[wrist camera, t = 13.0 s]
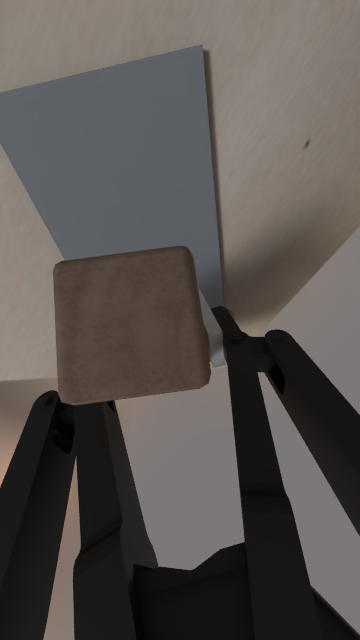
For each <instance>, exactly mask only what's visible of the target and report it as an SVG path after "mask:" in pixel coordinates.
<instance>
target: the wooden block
mask: <svg viewBox="0 0 360 640" xmlns="http://www.w3.org/2000/svg"><path fill="white" fill-rule="evenodd" d="M53 278H54V302H55V325H56V349H57V372H58V395H59V397H60V399H61V402H62V403H67V404H71V405H74V406H75V405H82V404H89V403H97V402H104V401H111V400H119V399H126V398H134V397H141V396H148V395H156V394H163V393H170V392H178V391H184V390H192V389H199V388H201V387H203V386H204V385H206V384H208V383H209V379H210V375H211V369H210V363H209V362H210V361H211V360H210V357H209V355H208V350H207V343H206V336H205V330H204V323H203V317H202V310H201V303H200V297H199V290H198V284H197V277H196V271H195V264H194V257H193V255H192V254H191V252H190V250H189V249H188V247H185V246H172V247H165V248H157V249H149V250H142V251H134V252H127V253H119V254H112V255H104V256H96V257H89V258H81V259H74V260H66V261H61V262H59V263H57V264H55V267H54V270H53ZM228 311H229V313H230V315H231V316H232V318H233V319H234V315H233V312H232V311H230V310H228Z"/></svg>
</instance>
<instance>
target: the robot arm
mask: <svg viewBox="0 0 360 640" xmlns="http://www.w3.org/2000/svg"><path fill="white" fill-rule="evenodd" d="M198 290H199V297H200V303H201V310H202V317H203V323H204V330H205V336H206V343H207V350H208V355H209V357H210V360H211V362H212V365H213V368H214V367H218V366H222V365H225V360H226V362H227V365H228V376H229V385H230V396H231V406H232V415H233V426H234V436H235V446H236V457H237V467H238V477H239V487H240V497H241V507H242V518H243V527H244V538H245V542H243V543H240V544H237V545H233V546H230V547H227V548H223V549H220V550H219V551H217V552H216V553H215V554H213V555H212V556H211V557H210V558H208V559H207V560H206V561H204V562H203V563H202V564H200V565H199V566H198V567H197V568H195V569H193V570H183V569H175V568H167V567H158V563H157V559H156V555H155V552H154V549H153V546H152V544H151V543H150V540H149V538H148V535H147V532H146V528H145V524H144V520H143V516H142V512H141V508H140V503H139V499H138V495H137V491H136V487H135V483H134V479H133V475H132V471H131V467H130V462H129V458H128V454H127V450H126V446H125V442H124V438H123V434H122V430H121V425H120V422H119V418H118V413H117V409H116V405H115V401H114V400H111V401H104V402H97V403H89V404H82V405H75V406H74V405H71V404H67V403H62V402H61V399H60V397H59V395H58V392H57V391H54V390H53V391H48V392H45V393H44V394H42V395H41V396H40V397H39V398H38V399H37V400H36V401H35V402H34V404H33V407H32V409H31V411H30V414H29V416H28V419H27V421H26V424H25V426H24V429H23V431H22V434H21V436H20V439H19V442H18V444H17V447H16V449H15V452H14V454H13V457H12V459H11V462H10V464H9V467H8V469H7V472H6V475H5V477H4V479H3V482H2V484H1V488H0V640H43V638H44V633H45V628H46V623H47V618H48V612H49V606H50V600H51V595H52V589H53V583H54V578H55V572H56V567H57V561H58V555H59V549H60V543H61V538H62V532H63V526H64V521H65V515H66V510H67V504H68V498H69V492H70V487H71V481H72V475H73V470H74V464H75V458H76V457H77V478H78V496H79V514H80V533H81V534H80V535H81V549H80V553H79V555H78V557H77V558H76V560H75V564H74V568H73V569H74V570H73V596H74V597H73V599H74V634H75V640H360V635H359V634H358V633H357V632H356V631H355V630H354V629H353V628H352V627H351V626H350V625H349V624H348V623H347V622H346V621H345V619H344V618H342V616H341V615H339V613H338V612H336V610H335V609H334V608H333V607H332V606H331V605H330V604H329V603H328V602H327V601H326V600H325V599H324V598H323V597H322V596H321V595H320V594H319V593H318V592H317V591H316V590H315V589H314V588H313V587H312V586H311V585H310V581H309V577H308V573H307V569H306V564H305V560H304V556H303V552H302V548H301V544H300V539H299V535H298V531H297V527H296V523H295V518H294V515H293V511H292V507H291V504H290V501H289V498H288V496H287V494H286V492H285V489H284V486H283V482H282V477H281V473H280V469H279V465H278V460H277V456H276V451H275V447H274V443H273V438H272V434H271V429H270V425H269V421H268V416H267V412H266V408H265V404H264V399H263V394H262V390H261V386H260V382H259V377H258V373H257V372H264V373H265V375H266V376H267V378H268V380H269V381H270V383H271V385H272V387H273V388H274V390H275V392H276V394H277V395H278V397H279V399H280V400H281V402H282V404H283V405H284V407H285V409H286V411H287V412H288V414H289V416H290V417H291V419H292V421H293V422H294V424H295V426H296V428H297V430H298V431H299V433H300V434H301V436H302V438H303V440H304V441H305V443H306V445H307V447H308V448H309V450H310V452H311V453H312V455H313V457H314V459H315V460H316V462H317V464H318V465H319V467H320V469H321V471H322V472H323V474H324V476H325V478H326V479H327V481H328V483H329V484H330V486H331V488H332V490H333V491H334V493H335V495H336V496H337V498H338V499H339V502H340V503H341V505H342V507H343V508H344V510H345V512H346V514H347V515H348V517H349V519H350V520H351V522H352V524H353V526H354V527H355V529H356V531H357V532H358V534H359V536H360V415H359V414H358V413H357V411H356V410H355V409H354V408H353V407H352V406H351V405H350V403H349V402H348V401H347V400H346V399H345V398H344V396H343V395H342V394H341V393H340V392H339V391H338V389H337V388H336V387H335V386H334V385H333V384H332V383H331V381H330V380H329V379H328V378H327V377H326V376H325V374H324V373H323V372H322V371H321V370H320V369H319V368H318V366H317V365H316V364H315V363H314V362H313V361H312V359H310V357H309V356H308V355H307V354H306V353H305V351H304V350H303V349H302V348H301V347H300V346H299V344H298V343H297V342H296V341H295V340H294V339H293V338H292V336H291V335H290V334H288V333H287V332H285V331H283V330H271V331H268V332H267V333H266V334H265V337H251V336H248V335H247V334H246V333H245V332H242V331H241V330H240V328H239V327H238V325H237V324H236V322H235V321H234V319H233V318H232V316H231V315H230V313H229V311H228V310H227V309H226V308H225V307H223V306H218V307H214V308H210V307H209V306H208V304H207V302H206V300H205V298H204V296H203V294H202V292H201V291H200V289H199V287H198Z"/></svg>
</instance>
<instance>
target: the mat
mask: <svg viewBox="0 0 360 640" xmlns="http://www.w3.org/2000/svg"><path fill="white" fill-rule="evenodd" d="M0 143H1V145H2V147H3V149H4V151H5V152H6V154H7V156H8V158H9V160H10V161H11V163H12V165H13V167H14V169H15V170H16V172H17V174H18V176H19V178H20V179H21V181H22V183H23V185H24V187H25V189H26V190H27V192H28V194H29V196H30V198H31V199H32V201H33V203H34V205H35V207H36V208H37V210H38V212H39V214H40V216H41V218H42V219H43V221H44V223H45V225H46V227H47V228H48V230H49V232H50V234H51V236H52V237H53V239H54V241H55V243H56V245H57V246H58V248H59V250H60V252H61V254H62V256H63V257H64V259H65V261H66V260H74V259H81V258H89V257H96V256H104V255H112V254H119V253H127V252H134V251H142V250H149V249H157V248H165V247H172V246H185V247H188V249H189V250H190V252H191V254H192V255H193V257H194V264H195V271H196V277H197V284H198V287H199V289H200V291H201V292H202V294H203V296H204V298H205V300H206V302H207V304H208V306H209V307H210V308H214V307H218V306H223V307H224V298H223V286H222V274H221V262H220V250H219V238H218V226H217V214H216V203H215V191H214V179H213V167H212V155H211V143H210V131H209V119H208V107H207V95H206V83H205V71H204V59H203V47H202V45H199V46H194V47H190V48H186V49H182V50H178V51H174V52H169V53H165V54H161V55H157V56H153V57H148V58H144V59H140V60H136V61H132V62H128V63H123V64H119V65H115V66H111V67H107V68H103V69H98V70H94V71H90V72H86V73H82V74H77V75H73V76H69V77H65V78H61V79H57V80H52V81H48V82H44V83H40V84H36V85H31V86H27V87H23V88H19V89H15V90H11V91H6V92H2V93H0Z"/></svg>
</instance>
